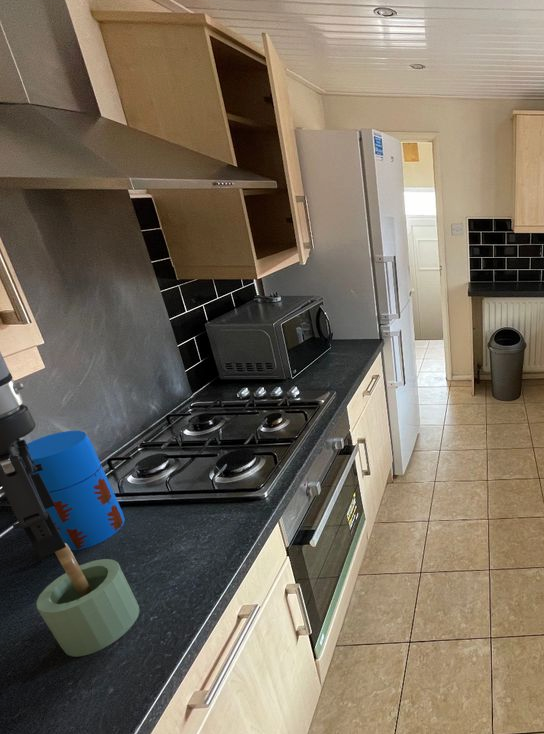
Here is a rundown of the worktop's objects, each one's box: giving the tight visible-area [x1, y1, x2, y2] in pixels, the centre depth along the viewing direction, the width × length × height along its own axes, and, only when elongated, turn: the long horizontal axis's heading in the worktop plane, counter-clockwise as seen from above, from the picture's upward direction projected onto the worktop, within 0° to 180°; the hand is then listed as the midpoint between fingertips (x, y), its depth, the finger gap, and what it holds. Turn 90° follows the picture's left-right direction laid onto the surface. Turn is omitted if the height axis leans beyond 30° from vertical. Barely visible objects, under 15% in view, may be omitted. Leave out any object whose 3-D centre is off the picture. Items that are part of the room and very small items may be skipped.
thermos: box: [27, 430, 126, 551], centre depth 90 cm, size 11×11×25 cm
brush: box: [54, 543, 92, 598], centre depth 71 cm, size 4×4×19 cm
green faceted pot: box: [35, 558, 140, 658], centre depth 73 cm, size 10×10×11 cm
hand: (48, 529), depth 67 cm, fingers open, 13 cm apart
